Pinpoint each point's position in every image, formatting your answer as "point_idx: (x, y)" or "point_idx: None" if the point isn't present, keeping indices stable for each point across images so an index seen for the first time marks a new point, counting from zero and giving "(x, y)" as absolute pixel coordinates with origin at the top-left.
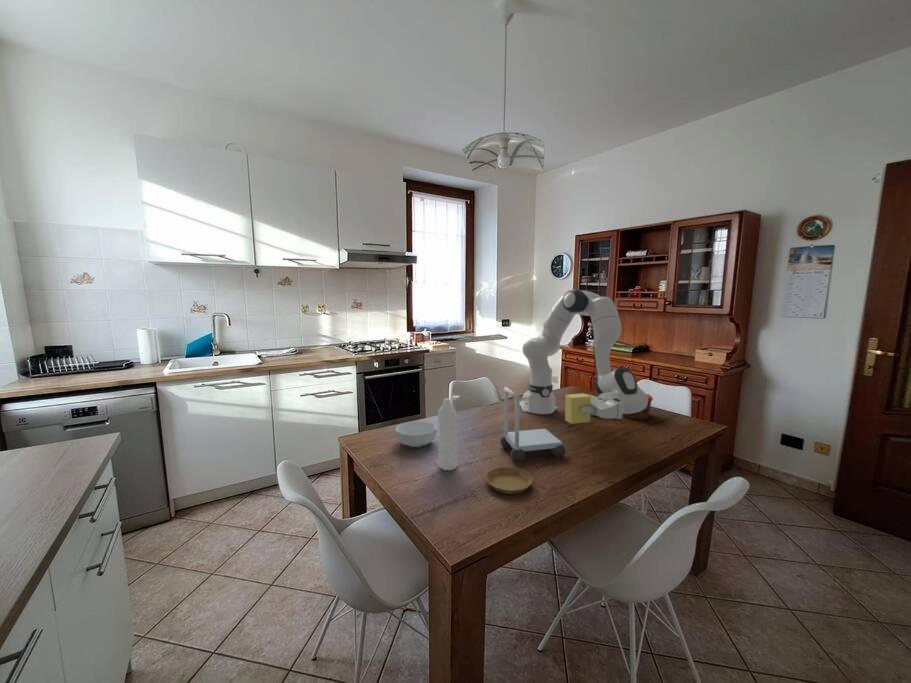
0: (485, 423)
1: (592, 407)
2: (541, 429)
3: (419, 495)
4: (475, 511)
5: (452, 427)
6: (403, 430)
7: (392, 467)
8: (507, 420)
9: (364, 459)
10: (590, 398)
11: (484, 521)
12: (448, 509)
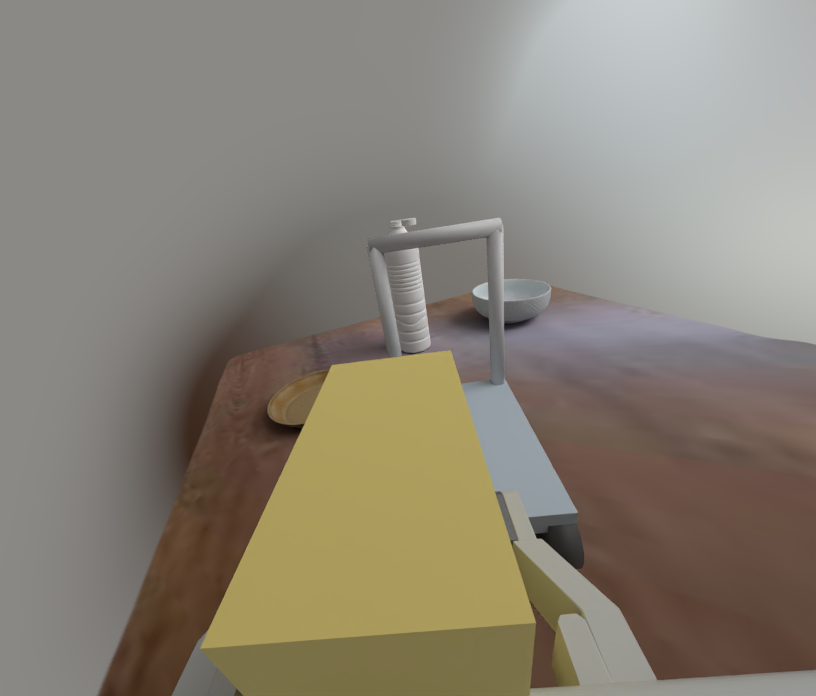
0: (720, 394)
1: (184, 679)
2: (558, 489)
3: (350, 334)
4: (283, 369)
5: (388, 277)
6: (528, 291)
7: (427, 313)
8: (492, 344)
9: (455, 298)
10: (231, 663)
11: (258, 375)
12: (306, 352)
